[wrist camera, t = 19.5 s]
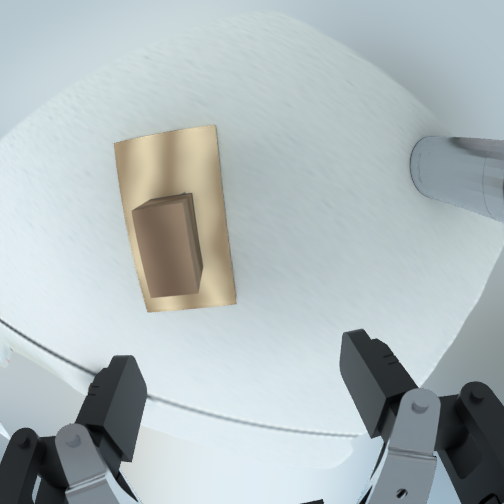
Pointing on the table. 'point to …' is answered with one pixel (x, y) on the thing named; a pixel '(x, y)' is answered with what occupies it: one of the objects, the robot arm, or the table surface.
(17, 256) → the table surface
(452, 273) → the table surface
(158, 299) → the pine board
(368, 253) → the table surface
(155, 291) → the block
